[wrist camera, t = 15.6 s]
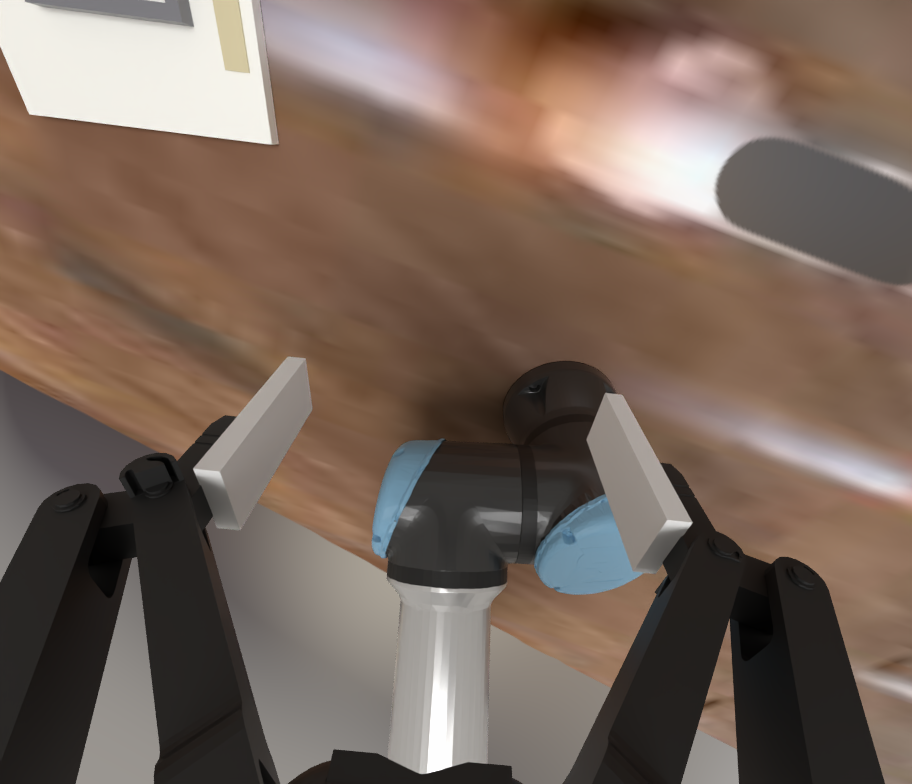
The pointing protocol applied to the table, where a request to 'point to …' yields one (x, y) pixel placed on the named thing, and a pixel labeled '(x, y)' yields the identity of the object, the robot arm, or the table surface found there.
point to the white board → (144, 64)
